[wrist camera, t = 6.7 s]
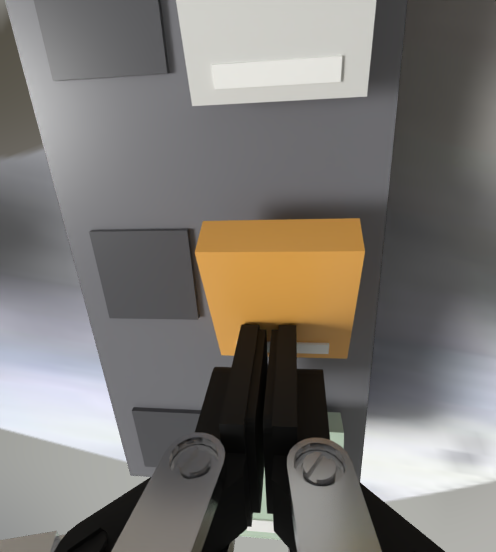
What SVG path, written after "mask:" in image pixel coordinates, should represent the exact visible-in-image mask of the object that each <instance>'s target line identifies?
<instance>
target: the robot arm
mask: <svg viewBox="0 0 496 552" xmlns="http://www.w3.org/2000/svg"><path fill="white" fill-rule="evenodd" d="M264 467H265V486H266V505H267V514H273V527H274V532H275V533H276V534H277V535H278V536H279V537H280V539H281V540H282V541H283V542H284V543H285V544H286V545H287V546H288V552H445V551H444V550H442V549H441V548H440V547H438V546H437V545H436V544H435V543H434V542H432V541H431V540H430V539H429V538H428V537H426V536H425V535H424V534H422V533H421V532H420V531H419V530H418V529H417V528H415V527H414V526H413V525H412V524H410V523H409V522H408V521H407V520H405V519H404V518H403V517H402V516H401V515H399V514H398V513H397V512H396V511H394V510H393V509H392V508H391V507H389V506H388V505H387V504H386V503H385V502H383V501H382V500H381V499H380V498H378V497H377V496H376V495H375V494H373V493H372V492H371V491H370V490H369V489H367V488H366V487H365V486H364V485H362V484H361V483H360V482H359V481H358V478H357V475H356V472H355V469H354V466H353V463H352V460H351V458H350V456H349V455H348V453H347V452H346V451H345V450H344V449H343V448H342V447H341V446H340V445H338V444H337V443H335V442H333V441H331V440H330V432H329V422H328V412H327V402H326V392H325V383H324V373H323V369H297V333H296V325H279V326H278V330H271V340H270V350H269V361H268V357H267V333H266V329H260V326H259V325H245V324H242V325H241V327H240V332H239V336H238V341H237V345H236V349H235V354H234V358H233V363H232V367H214V369H213V371H212V374H211V378H210V381H209V385H208V388H207V392H206V395H205V399H204V402H203V405H202V409H201V412H200V416H199V419H198V423H197V426H196V430H195V433H190V434H186V435H184V436H182V437H180V438H178V439H176V440H175V441H174V442H173V443H171V444H170V445H169V447H168V448H167V449H166V451H165V452H164V454H163V456H162V458H161V460H160V462H159V464H158V465H157V467H156V469H155V471H154V473H153V475H152V477H150V478H149V479H147V480H146V481H144V482H143V483H141V484H139V485H138V486H136V487H135V488H133V489H132V490H130V491H128V492H127V493H125V494H124V495H122V496H121V497H119V498H118V499H116V500H114V501H113V502H111V503H110V504H108V505H107V506H105V507H104V508H102V509H100V510H99V511H97V512H96V513H94V514H93V515H91V516H90V517H88V518H86V519H85V520H83V521H82V522H80V523H79V524H77V525H76V526H75V527H73V528H72V529H71V530H70V531H68V532H67V534H66V535H60V536H59V535H58V533H57V531H53V532H47V533H40V534H34V535H28V536H23V537H17V538H10V539H5V540H0V552H233V551H234V544H235V538H237V537H238V536H239V535H240V534H242V533H243V532H244V531H245V530H246V529H247V527H252V517H253V513H260V512H261V503H262V491H263V478H264Z"/></svg>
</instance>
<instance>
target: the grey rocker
mask: <svg viewBox="0 0 496 552" xmlns="http://www.w3.org/2000/svg"><path fill="white" fill-rule="evenodd" d="M176 4H177V11H178V17H179V24H180V30H181V37H182V43H183V50H184V56H185V62H186V69H187V75H188V82H189V88H190V95H191V101H192V106H204V105H223V104H241V103H259V102H277V101H295V100H313V99H331V98H350V97H367V91H368V81H369V71H370V60H371V50H372V40H373V30H374V20H375V10H376V0H176Z"/></svg>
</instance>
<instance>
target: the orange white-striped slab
mask: <svg viewBox="0 0 496 552" xmlns="http://www.w3.org/2000/svg"><path fill="white" fill-rule="evenodd" d="M364 255H365V248H364V242H363V236H362V229H361V223H360V218H345V219H287V220H228V221H203V222H202V226H201V230H200V234H199V238H198V241H197V245H196V249H195V256H196V260H197V263H198V267H199V271H200V275H201V279H202V283H203V287H204V290H205V294H206V298H207V302H208V306H209V310H210V313H211V317H212V321H213V325H214V329H215V333H216V336H217V340H218V344H219V348H220V352H221V355H229V356H234V354H235V349H236V345H237V341H238V336H239V332H240V327H241V325H242V324H245V325H259V326H260V329H266V333H267V357H269V350H270V340H271V330H278V326H279V325H296V333H297V357H303V358H340V359H347V357H348V351H349V345H350V339H351V333H352V327H353V321H354V315H355V309H356V303H357V297H358V291H359V285H360V279H361V273H362V267H363V261H364Z"/></svg>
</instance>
